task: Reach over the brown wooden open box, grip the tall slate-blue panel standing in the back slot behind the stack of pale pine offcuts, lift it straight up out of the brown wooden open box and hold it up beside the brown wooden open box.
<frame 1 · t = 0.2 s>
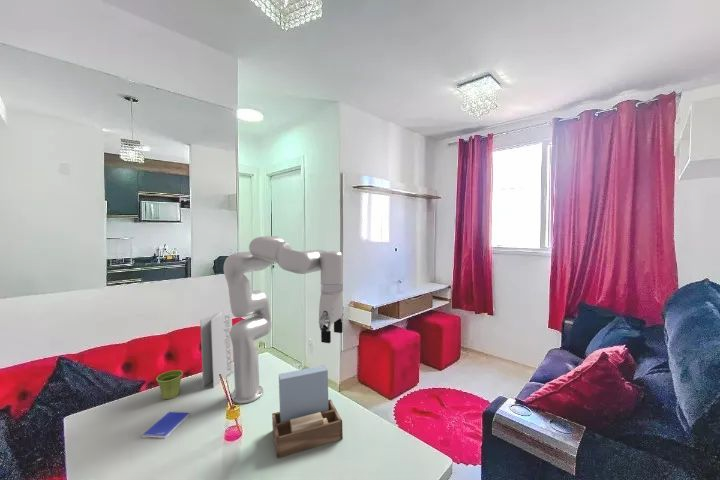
hand: (332, 337, 102), 32 cm above the table, tool pointing down, fingers open, 9 cm apart
plant pot: (170, 396, 125), on the table
panel: (305, 428, 103), resting in brown wooden open box
brown wooden open box: (306, 434, 100), on the table
offcut stack: (308, 441, 97), resting in brown wooden open box
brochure: (219, 379, 138), on the table
hard drive: (167, 427, 106), on the table
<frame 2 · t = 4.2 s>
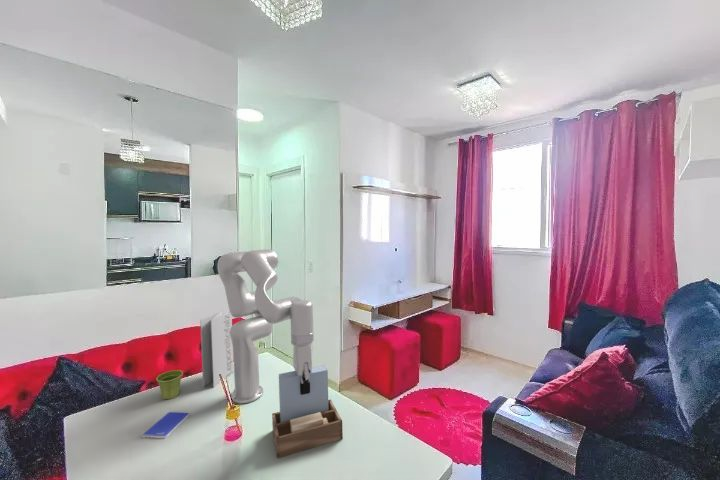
hand: (303, 389, 102), 14 cm above the table, tool pointing down, fingers closed on panel, 4 cm apart
panel: (304, 428, 103), resting in brown wooden open box, touching gripper
everything else where it was.
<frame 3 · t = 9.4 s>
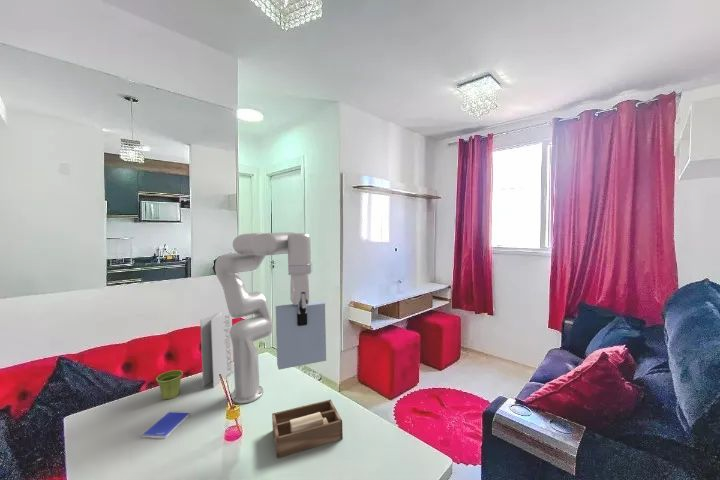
hand: (300, 322, 101), 37 cm above the table, tool pointing down, fingers closed on panel, 4 cm apart
panel: (301, 362, 102), point 23 cm above the table, touching gripper
everything else where it was.
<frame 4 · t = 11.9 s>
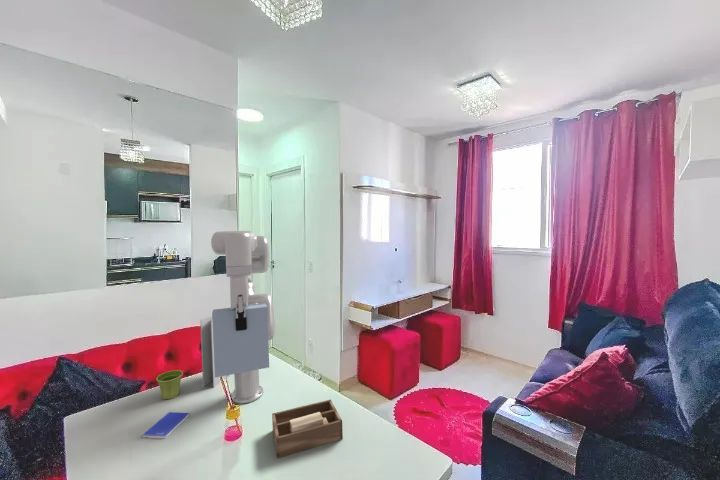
hand: (241, 327, 95), 38 cm above the table, tool pointing down, fingers closed on panel, 4 cm apart
panel: (242, 369, 96), point 24 cm above the table, touching gripper
everything else where it was.
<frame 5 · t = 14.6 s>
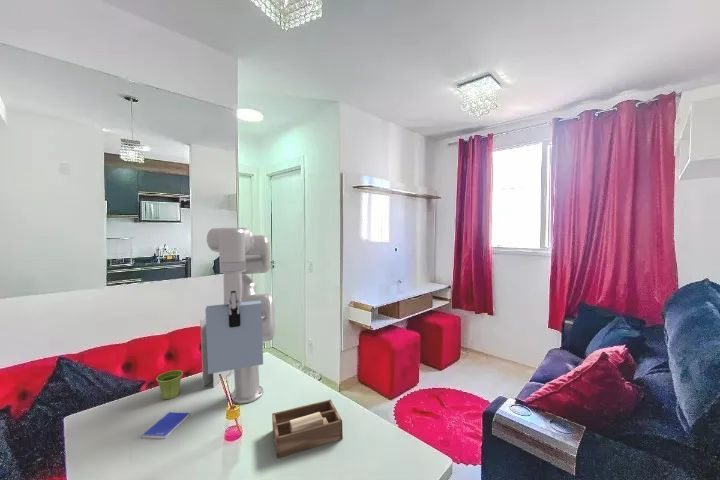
hand: (235, 323, 95), 39 cm above the table, tool pointing down, fingers closed on panel, 4 cm apart
panel: (236, 366, 95), point 25 cm above the table, touching gripper
everything else where it was.
at the end: the gripper is holding panel; panel point 25.3 cm above the table; panel inside the target area (0.1 cm from its centre), point 25.3 cm above the table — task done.
